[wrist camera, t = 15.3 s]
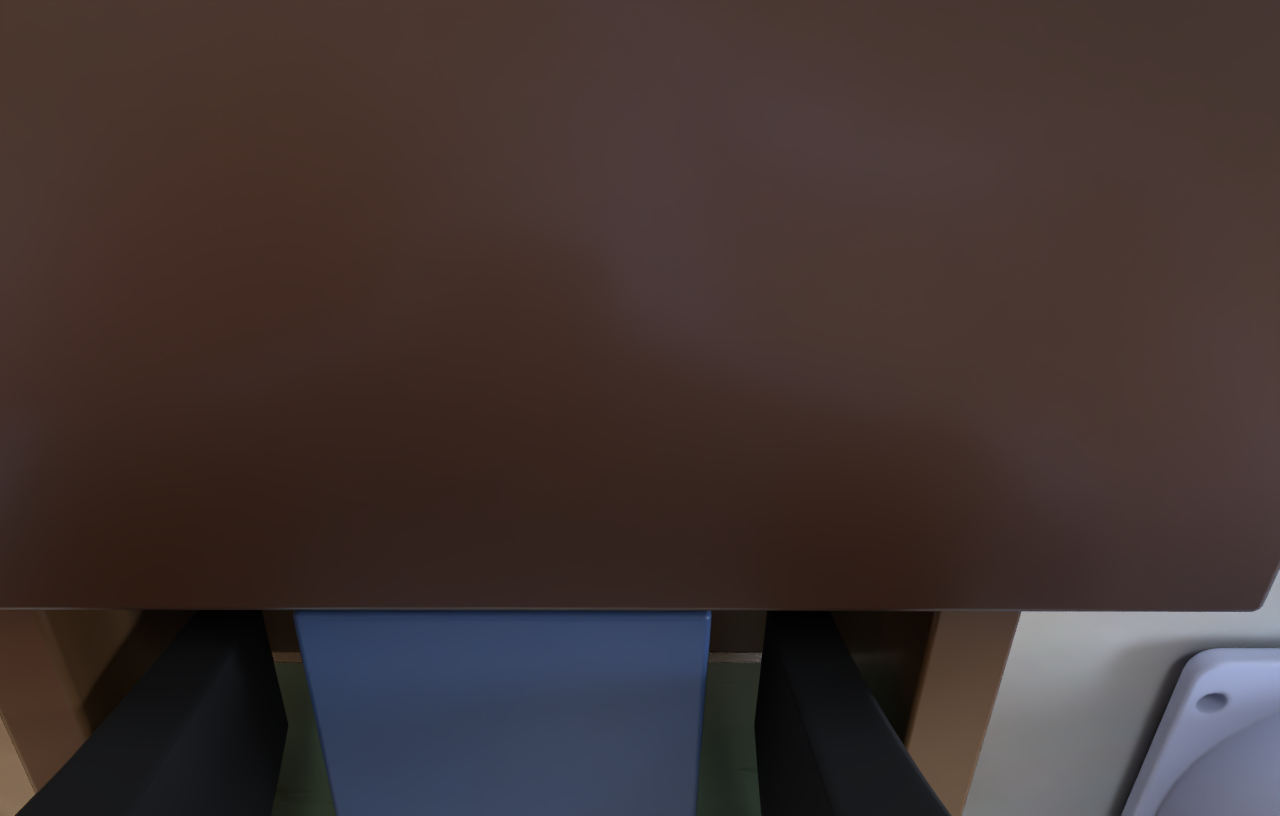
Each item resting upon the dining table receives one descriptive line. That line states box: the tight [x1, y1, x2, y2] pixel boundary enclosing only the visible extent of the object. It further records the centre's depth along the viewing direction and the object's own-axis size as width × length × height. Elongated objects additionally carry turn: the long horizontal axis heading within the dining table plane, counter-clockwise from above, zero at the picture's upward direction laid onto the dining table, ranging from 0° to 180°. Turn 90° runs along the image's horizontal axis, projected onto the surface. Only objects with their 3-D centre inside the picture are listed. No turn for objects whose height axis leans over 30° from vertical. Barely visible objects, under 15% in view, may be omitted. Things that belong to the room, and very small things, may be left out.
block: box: [293, 610, 711, 816], centre depth 14 cm, size 4×4×4 cm
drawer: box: [0, 610, 1021, 816], centre depth 15 cm, size 17×11×6 cm, turn 179°
